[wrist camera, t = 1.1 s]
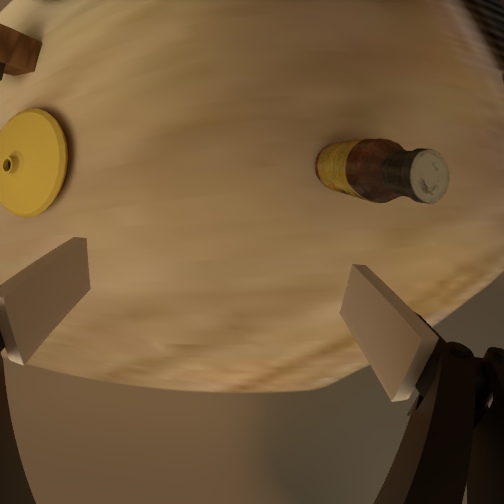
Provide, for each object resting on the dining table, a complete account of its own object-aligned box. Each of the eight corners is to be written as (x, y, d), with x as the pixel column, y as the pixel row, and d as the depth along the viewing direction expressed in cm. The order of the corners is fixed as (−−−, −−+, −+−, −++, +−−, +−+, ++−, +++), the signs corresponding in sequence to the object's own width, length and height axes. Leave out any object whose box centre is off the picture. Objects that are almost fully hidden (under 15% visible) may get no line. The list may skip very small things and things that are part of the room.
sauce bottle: (319, 195, 38) (396, 232, 19) (307, 148, 36) (380, 142, 17) (363, 183, 37) (461, 211, 19) (353, 138, 36) (450, 130, 17)
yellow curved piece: (-7, 183, 33) (-35, 190, 27) (28, 95, 30) (0, 90, 23) (51, 232, 37) (25, 246, 30) (94, 137, 33) (69, 134, 27)
